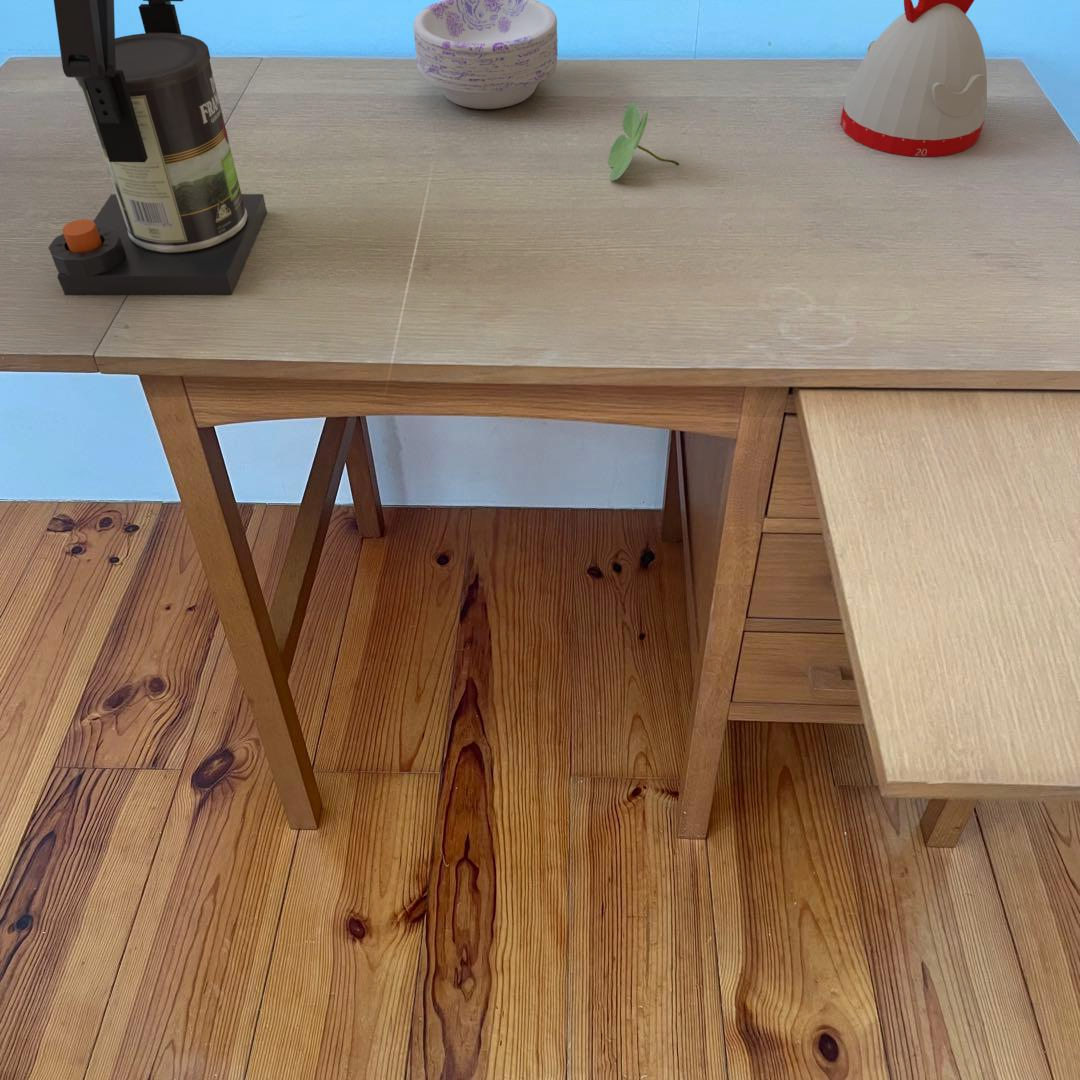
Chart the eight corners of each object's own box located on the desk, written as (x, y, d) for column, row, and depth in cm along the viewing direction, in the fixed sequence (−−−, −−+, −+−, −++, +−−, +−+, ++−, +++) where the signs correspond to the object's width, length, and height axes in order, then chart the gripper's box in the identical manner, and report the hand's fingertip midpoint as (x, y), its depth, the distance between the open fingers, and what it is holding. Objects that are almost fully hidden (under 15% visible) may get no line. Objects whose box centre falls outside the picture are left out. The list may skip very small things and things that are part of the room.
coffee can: (247, 189, 92) (209, 26, 82) (248, 246, 85) (206, 74, 75) (131, 202, 90) (77, 37, 80) (122, 260, 83) (62, 87, 73)
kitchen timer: (1007, 143, 101) (1061, -21, 90) (888, 166, 98) (929, -1, 87) (926, 91, 110) (966, -64, 99) (815, 110, 107) (844, -47, 96)
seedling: (646, 216, 101) (593, 189, 98) (664, 143, 102) (612, 114, 99) (689, 197, 95) (634, 167, 92) (708, 119, 96) (654, 87, 93)
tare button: (64, 254, 82) (57, 235, 81) (75, 238, 84) (68, 219, 82) (96, 254, 82) (89, 234, 81) (106, 238, 84) (99, 218, 82)
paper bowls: (457, 134, 104) (451, 53, 98) (398, 83, 113) (389, 8, 108) (583, 102, 109) (584, 24, 103) (516, 57, 118) (514, -17, 113)
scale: (54, 297, 83) (39, 259, 81) (109, 213, 93) (97, 177, 91) (231, 297, 83) (221, 259, 80) (267, 213, 93) (259, 176, 90)
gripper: (55, -154, 57) (156, 196, 73) (174, -234, 75) (235, 62, 90) (-75, -155, 57) (53, 195, 73) (74, -235, 75) (152, 61, 90)
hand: (154, 122), depth 81 cm, fingers open, 13 cm apart
